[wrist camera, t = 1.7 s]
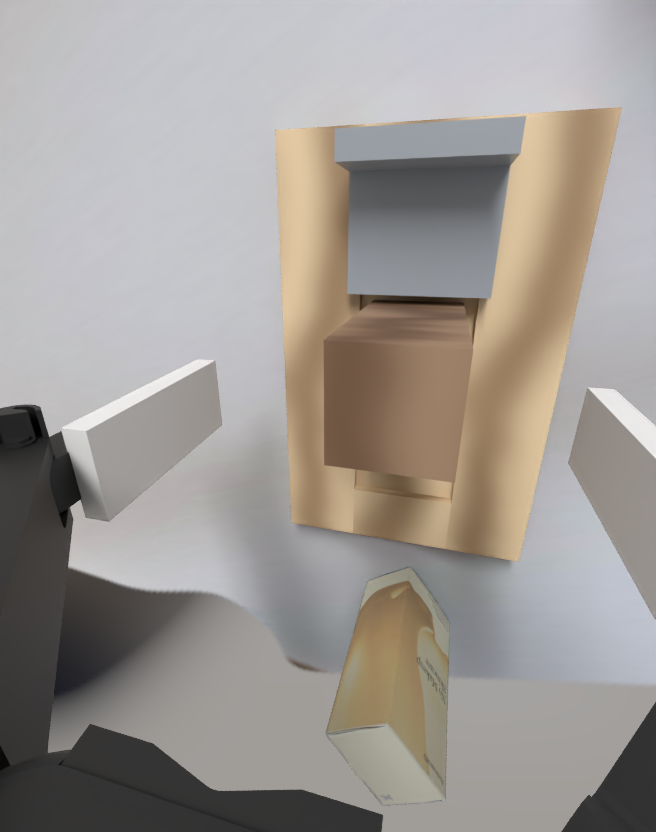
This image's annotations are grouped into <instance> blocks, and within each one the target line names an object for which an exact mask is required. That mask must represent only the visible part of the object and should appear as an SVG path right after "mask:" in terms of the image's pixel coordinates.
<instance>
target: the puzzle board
mask: <svg viewBox="0 0 656 832" xmlns="http://www.w3.org/2000/svg"><path fill="white" fill-rule="evenodd" d="M621 109H622V107H618V108H603V109H588V110H573V111H558V112H543V113H528V114H513V115H497V116H482V117H467V118H452V119H437V120H422V121H407V122H392V123H377V124H362V125H347V126H332V127H317V128H301V129H286V130H275V136H276V160H277V184H278V208H279V233H280V257H281V281H282V305H283V329H284V354H285V378H286V402H287V426H288V450H289V475H290V499H291V523H297V524H302V525H308V526H314V527H320V528H326V529H331V530H337V531H343V532H349V533H355V534H360V535H366V536H372V537H378V538H384V539H390V540H395V541H401V542H407V543H413V544H419V545H424V546H430V547H436V548H442V549H448V550H453V551H459V552H465V553H471V554H477V555H483V556H488V557H494V558H500V559H506V560H512V561H517V562H519V559H520V554H521V550H522V546H523V541H524V537H525V532H526V528H527V524H528V519H529V515H530V510H531V506H532V502H533V497H534V493H535V488H536V484H537V479H538V475H539V471H540V466H541V462H542V457H543V453H544V449H545V444H546V440H547V435H548V431H549V427H550V422H551V418H552V413H553V409H554V405H555V400H556V396H557V391H558V387H559V382H560V378H561V374H562V369H563V365H564V360H565V356H566V352H567V347H568V343H569V338H570V334H571V330H572V325H573V321H574V316H575V312H576V308H577V303H578V299H579V294H580V290H581V285H582V281H583V277H584V272H585V268H586V263H587V259H588V255H589V250H590V246H591V241H592V237H593V233H594V228H595V224H596V219H597V215H598V211H599V206H600V202H601V197H602V193H603V188H604V184H605V180H606V175H607V171H608V166H609V162H610V158H611V153H612V149H613V144H614V140H615V136H616V131H617V127H618V122H619V118H620V113H621ZM519 116H526V121H525V127H524V134H523V140H522V147H521V153H520V155H519V156H518V157H517V158H516V159H515V161H514V162H513V163H512V164H511V166H510V172H509V179H508V186H507V193H506V200H505V206H504V213H503V220H502V227H501V233H500V240H499V247H498V254H497V261H496V267H495V274H494V281H493V288H492V295H491V299H489V298H458V297H427V296H397V295H366V294H347V283H348V226H349V171H347V170H346V169H344V168H343V167H341V166H340V165H338V164H337V163H335V162H334V144H335V128H350V127H366V126H381V125H396V124H412V123H427V122H443V121H458V120H473V119H489V118H504V117H519ZM373 300H400V301H428V302H457V303H464V307H465V311H466V316H467V321H468V326H469V331H470V335H471V340H472V345H473V356H472V363H471V370H470V377H469V385H468V392H467V399H466V406H465V414H464V421H463V428H462V435H461V443H460V450H459V457H458V464H457V472H456V479H455V483H453V482H445V481H438V480H431V479H423V478H416V477H408V476H401V475H393V474H386V473H379V472H371V471H364V470H356V469H349V468H341V467H334V466H327V465H324V339H326V338H327V337H328V336H329V335H331V334H332V333H333V332H334V331H336V330H337V329H338V328H339V327H341V326H342V325H343V324H344V323H346V322H347V321H348V320H349V319H351V318H352V317H353V316H354V315H356V314H357V313H358V312H359V311H361V310H362V309H363V308H364V307H366V306H367V305H368V304H369V303H371V302H372V301H373Z"/></svg>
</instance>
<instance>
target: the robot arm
mask: <svg viewBox="0 0 656 832" xmlns="http://www.w3.org/2000/svg"><path fill="white" fill-rule="evenodd" d="M221 425H222V419H221V410H220V401H219V392H218V383H217V374H216V365H215V361H214V360H200V359H197V360H195V361H193V362H191V363H189V364H187V365H185V366H183V367H181V368H179V369H177V370H175V371H173V372H171V373H169V374H167V375H165V376H163V377H161V378H159V379H157V380H155V381H153V382H151V383H149V384H147V385H145V386H143V387H141V388H139V389H137V390H135V391H133V392H131V393H129V394H127V395H125V396H123V397H121V398H119V399H118V400H116V401H114V402H112V403H110V404H108V405H106V406H104V407H102V408H100V409H98V410H96V411H94V412H92V413H90V414H88V415H86V416H84V417H82V418H80V419H78V420H76V421H74V422H72V423H70V424H68V425H66V426H64V427H62V428H61V432H59V433H57V434H55V435H53V436H51V437H49V435H48V432H47V428H46V425H45V422H44V418H43V415H42V411H41V408H40V407H39V406H36V405H16V406H10V407H5V408H1V409H0V832H381V831H382V820H383V815H381V814H378V813H375V812H372V811H369V810H366V809H362V808H359V807H356V806H353V805H349V804H346V803H343V802H340V801H337V800H333V799H330V798H327V797H324V796H320V795H317V794H314V793H311V792H307V791H304V790H257V791H217V790H213V789H211V788H209V787H207V786H206V785H205V784H203V783H202V782H201V781H200V780H198V779H197V778H196V777H195V776H193V775H192V774H191V773H190V772H188V771H187V770H186V769H184V768H183V767H182V766H180V765H179V764H178V763H177V762H176V761H174V760H173V759H172V758H171V757H169V756H168V755H166V754H165V753H164V752H163V751H162V750H160V749H159V748H158V747H156V746H155V745H154V744H152V743H149V742H146V741H143V740H140V739H137V738H133V737H130V736H127V735H124V734H121V733H117V732H114V731H111V730H108V729H104V728H101V727H98V726H95V725H91V724H90V725H89V726H88V728H87V729H86V730H85V732H84V733H83V735H82V736H81V737H80V738H79V740H78V741H77V743H76V744H75V745H74V747H73V748H72V750H64V751H59V752H52V753H48V739H49V730H50V721H51V711H52V704H53V695H54V686H55V677H56V668H57V659H58V650H59V641H60V632H61V623H62V614H63V605H64V596H65V587H66V579H67V569H68V561H69V552H70V543H71V534H72V525H73V517H72V513H71V510H70V506H72V505H73V504H75V503H76V502H77V501H79V500H80V499H81V503H82V506H83V510H84V513H85V517H86V518H91V519H97V520H102V521H108V522H109V521H110V520H112V519H113V518H114V517H115V516H116V515H117V514H119V513H120V512H121V511H122V510H123V509H124V508H126V507H127V506H128V505H129V504H130V503H131V502H133V501H134V500H135V499H136V498H137V497H138V496H140V495H141V494H142V493H143V492H144V491H145V490H147V489H148V488H149V487H150V486H151V485H152V484H154V483H155V482H156V481H157V480H158V479H159V478H161V477H162V476H163V475H164V474H165V473H167V472H168V471H169V470H170V469H171V468H172V467H174V466H175V465H176V464H177V463H178V462H179V461H181V460H182V459H183V458H184V457H185V456H186V455H188V454H189V453H190V452H191V451H192V450H193V449H195V448H196V447H197V446H198V445H199V444H200V443H202V442H203V441H204V440H205V439H206V438H207V437H209V436H210V435H211V434H212V433H213V432H214V431H216V430H217V429H218V428H219V427H220V426H221ZM568 463H569V465H570V467H571V469H572V470H573V472H574V474H575V476H576V478H577V480H578V481H579V483H580V485H581V487H582V489H583V490H584V492H585V494H586V496H587V498H588V499H589V501H590V503H591V505H592V507H593V508H594V510H595V512H596V514H597V516H598V517H599V519H600V521H601V523H602V525H603V527H604V528H605V530H606V532H607V534H608V536H609V537H610V539H611V541H612V543H613V545H614V546H615V548H616V550H617V552H618V554H619V555H620V557H621V559H622V561H623V563H624V565H625V566H626V568H627V570H628V572H629V574H630V575H631V577H632V579H633V581H634V583H635V584H636V586H637V588H638V590H639V592H640V593H641V595H642V597H643V599H644V601H645V602H646V604H647V606H648V608H649V610H650V612H651V613H652V615H653V617H654V619H656V426H655V425H654V424H653V423H652V422H650V421H649V420H648V419H647V418H646V417H645V416H644V415H643V414H642V413H640V412H639V411H638V410H637V409H636V408H635V407H634V406H633V405H631V404H630V403H629V402H628V401H627V400H626V399H625V398H624V397H622V396H621V395H620V394H619V393H618V392H617V391H616V390H615V389H602V388H587V392H586V396H585V400H584V404H583V408H582V411H581V415H580V419H579V423H578V427H577V431H576V435H575V439H574V443H573V446H572V450H571V454H570V458H569V462H568ZM562 832H656V702H655V704H654V706H653V707H652V709H651V710H650V712H649V713H648V715H647V716H646V718H645V719H644V721H643V722H642V724H641V725H640V727H639V728H638V730H637V731H636V733H635V734H634V736H633V737H632V739H631V740H630V742H629V743H628V745H627V746H626V748H625V749H624V751H623V753H622V754H621V755H620V757H619V758H618V760H617V761H616V763H615V765H614V766H613V767H612V769H611V770H610V772H609V773H608V775H607V776H606V778H605V779H604V781H603V783H602V784H601V786H600V787H599V788H598V790H597V791H596V793H595V794H594V795H593V796H592V797H591V796H590V795H588V796H587V797H586V799H585V800H584V801H583V802H582V803H581V805H580V806H579V807H578V809H577V810H576V812H575V813H574V814H573V816H572V817H571V819H570V820H569V822H568V823H567V825H566V826H565V827H564V829H563V830H562Z"/></svg>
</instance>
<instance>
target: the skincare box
mask: <svg viewBox="0 0 656 832" xmlns="http://www.w3.org/2000/svg"><path fill="white" fill-rule="evenodd" d="M449 630H450V624H449V622H448V620H447V618H446V617H445V615H444V614H443V612H442V610H441V609H440V607H439V606H438V604H437V603H436V601H435V600H434V598H433V597H432V595H431V594H430V593H429V591H428V590H427V588H426V587H425V586H424V584H423V583H422V582H421V580H420V579H419V577H418V576H417V575H416V573H415V572H414V571H413V569H412V568H411V567H409V568H406V569H403V570H399V571H396V572H393V573H390V574H387V575H384V576H381V577H378V578H375V579H372V580H369V581H368V582H367V584H366V588H365V592H364V595H363V599H362V603H361V606H360V610H359V613H358V617H357V621H356V624H355V628H354V632H353V635H352V639H351V643H350V646H349V650H348V654H347V657H346V661H345V665H344V668H343V672H342V676H341V679H340V683H339V687H338V690H337V694H336V698H335V701H334V705H333V709H332V712H331V716H330V719H329V723H328V727H327V730H326V736H327V737H328V739H329V740H330V741H331V742H332V744H333V745H334V746H335V747H336V748H337V750H338V751H339V752H340V754H341V755H342V756H343V757H344V759H345V760H346V761H347V763H348V764H349V766H350V767H351V769H352V770H353V771H354V773H355V774H356V775H357V776H358V777H359V778H360V779H361V780H362V781H363V782H364V783H365V785H366V786H367V787H368V788H369V790H370V791H371V792H372V793H373V795H374V796H375V797H376V799H377V800H378V801H379V803H380V804H381V805H382V806H390V805H403V804H419V803H431V802H432V803H433V802H444V801H445V799H446V747H447V709H448V708H447V707H448V665H449Z"/></svg>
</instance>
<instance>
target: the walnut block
mask: <svg viewBox="0 0 656 832" xmlns="http://www.w3.org/2000/svg"><path fill="white" fill-rule="evenodd" d="M472 356H473V345H472V340H471V335H470V331H469V326H468V321H467V316H466V311H465V307H464V303H457V302H428V301H400V300H373V301H372V302H371V303H369V304H368V305H367V306H366V307H364V308H363V309H362V310H361V311H359V312H358V313H357V314H356V315H354V316H353V317H352V318H351V319H349V320H348V321H347V322H346V323H344V324H343V325H342V326H341V327H339V328H338V329H337V330H336V331H334V332H333V333H332V334H331V335H329V336H328V337H327V338H326V339H324V465H327V466H334V467H341V468H349V469H356V470H364V471H371V472H379V473H386V474H393V475H401V476H408V477H416V478H423V479H431V480H438V481H445V482H453V483H455V479H456V472H457V464H458V457H459V450H460V443H461V435H462V428H463V421H464V414H465V406H466V399H467V392H468V385H469V377H470V370H471V363H472Z"/></svg>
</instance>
